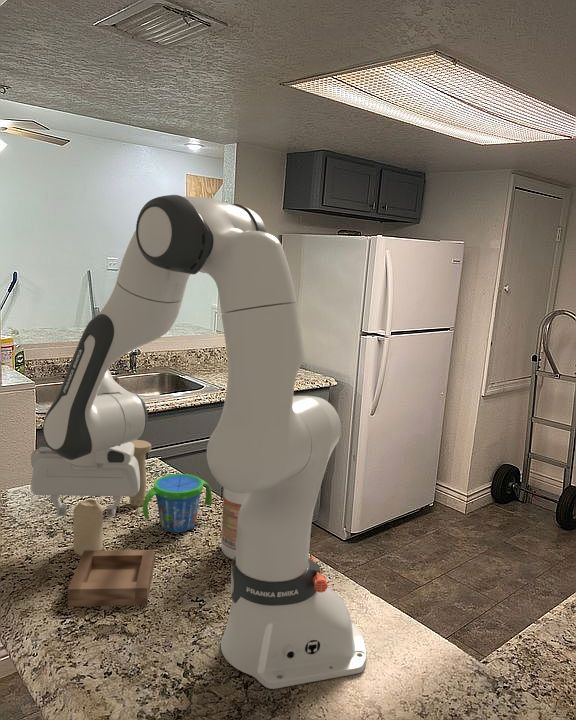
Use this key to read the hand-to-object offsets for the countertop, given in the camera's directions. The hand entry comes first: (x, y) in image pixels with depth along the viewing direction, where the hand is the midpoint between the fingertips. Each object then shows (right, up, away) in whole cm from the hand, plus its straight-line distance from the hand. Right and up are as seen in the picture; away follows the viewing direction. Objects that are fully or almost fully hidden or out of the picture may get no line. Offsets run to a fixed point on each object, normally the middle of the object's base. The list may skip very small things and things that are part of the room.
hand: (86, 514), depth 118 cm
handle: (+4, -4, +23) cm, 23 cm away
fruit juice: (+31, -9, +4) cm, 32 cm away
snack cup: (+16, -6, +13) cm, 21 cm away
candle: (0, -7, +1) cm, 7 cm away
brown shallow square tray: (+9, -10, -11) cm, 17 cm away
